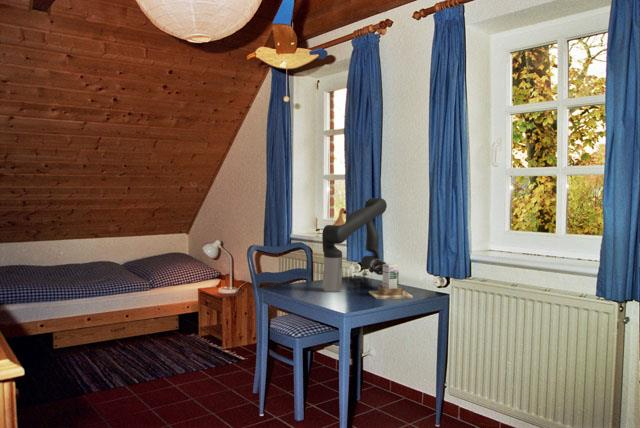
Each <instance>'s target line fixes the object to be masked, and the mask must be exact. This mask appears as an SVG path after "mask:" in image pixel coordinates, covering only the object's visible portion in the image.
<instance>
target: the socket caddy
mask: <svg viewBox="0 0 640 428" xmlns="http://www.w3.org/2000/svg"><path fill="white" fill-rule="evenodd" d="M377 287H378V288H377V289H378V290H369V291H368V293H369V295H371V296H372V297H373V298H374V299H375V300H383V299H384V300H388V299H393V300H395V299H413V298H414V297H413V295H411V294H410V293H409V292H407V291H405V290H404V288H403V287H401V286H399V287H398V289H384V288H383V284H382V285H381V284H380V285H378V286H377Z"/></svg>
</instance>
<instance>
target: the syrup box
mask: <svg viewBox="0 0 640 428" xmlns="http://www.w3.org/2000/svg"><path fill="white" fill-rule="evenodd" d="M399 266H400V265H399V264H398V263H393V262H392V263H386V264H383V275H382V285H383V288H384V289H398V287H400V286H399V278H400V275H399Z"/></svg>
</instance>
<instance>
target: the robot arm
mask: <svg viewBox="0 0 640 428" xmlns="http://www.w3.org/2000/svg"><path fill="white" fill-rule="evenodd" d="M370 198H371V199H369V198H368V199H369V200H368V201H365V202H366V203H365V202H364V207H361V208H358V209H356V210H354V211H352V212H351V213H349V214H348V215H347V216H346V219H345V223H344V224H341V225H336V224H335V225H334V224H327V225H325V226H324V227H323V229H322V235H321V238H322V239H321V240H322V252H323V270H322V290H323V292H327V293H329V292H330V293H339V292H341V291H342V290H343V284H342V283H343V281H342V279H343V277H342V276H343V272H342V271H343V269H342V268H343V252H342V250H340V249H338V248H337V247H336V245H338V244H342V243H344V242H345V241H346V240H347V239H348V238H349V237H350V236H351V235H352V234H354V233H356V231H358V230H360V229H361V228H362V227H365V228H366V230H365V231H366V236H365V237H366V239H365V241H366V242H365V250H366V251H367V252H370V253H372V254H373V255H364V256H363V257H362V258H361V261H360V262H361V266H362V267H363V268H364V269H366V270H368V272H369V273H372V274H373V273H374V274H376V275H378V276H383V264H387V263H386V262H385V260H382V259H381V256H380V251H379V250H380V249H379V245H380V242H379V241H380V237H379V233H378V230H377V228H376V225H375V223H374V219H375V218H377V217H379V216H381V215H383V214H384V213H385V212H386V211H387V207H388V204H387V202H386V200H385V199H383V198H379V197H370ZM372 219H373V220H372Z"/></svg>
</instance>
